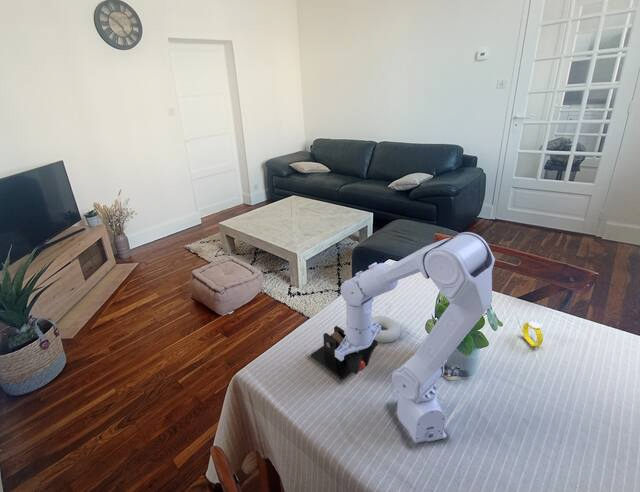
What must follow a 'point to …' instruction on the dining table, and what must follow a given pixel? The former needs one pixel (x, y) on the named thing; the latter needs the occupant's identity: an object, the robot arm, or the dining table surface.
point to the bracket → (332, 355)
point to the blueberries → (451, 373)
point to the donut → (389, 334)
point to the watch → (537, 329)
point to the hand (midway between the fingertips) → (358, 367)
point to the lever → (339, 339)
